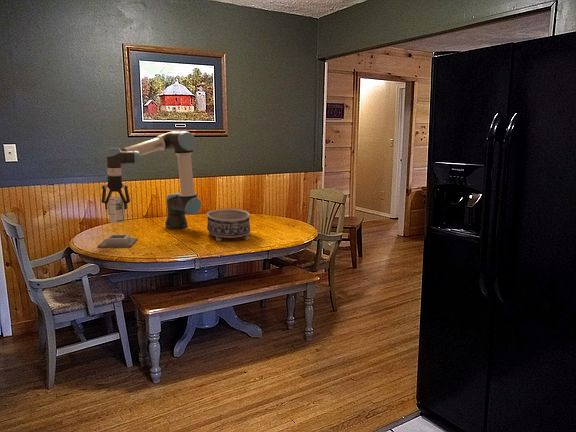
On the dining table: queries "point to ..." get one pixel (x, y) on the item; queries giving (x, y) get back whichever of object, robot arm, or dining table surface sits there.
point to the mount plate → (118, 241)
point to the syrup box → (116, 210)
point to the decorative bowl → (228, 223)
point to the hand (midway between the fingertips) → (116, 214)
